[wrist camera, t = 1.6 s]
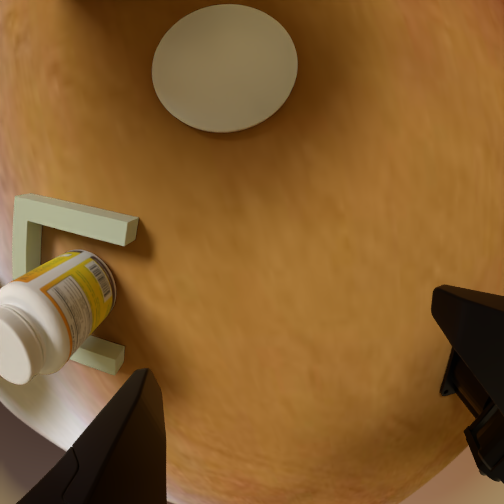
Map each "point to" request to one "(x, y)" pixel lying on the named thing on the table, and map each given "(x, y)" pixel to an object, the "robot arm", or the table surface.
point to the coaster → (224, 68)
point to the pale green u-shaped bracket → (79, 222)
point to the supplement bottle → (52, 313)
